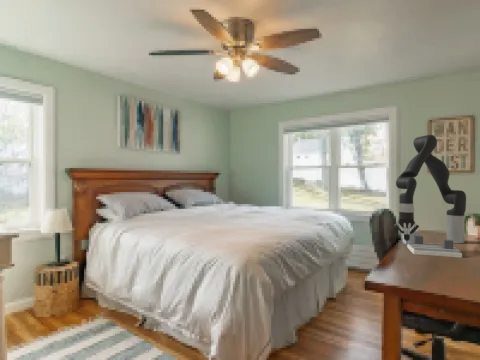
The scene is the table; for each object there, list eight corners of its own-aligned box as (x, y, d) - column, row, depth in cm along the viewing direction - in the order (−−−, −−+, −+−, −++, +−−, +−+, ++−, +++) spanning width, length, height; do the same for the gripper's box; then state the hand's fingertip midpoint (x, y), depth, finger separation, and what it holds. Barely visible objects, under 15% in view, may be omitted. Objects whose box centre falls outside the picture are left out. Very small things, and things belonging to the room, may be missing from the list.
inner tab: (414, 244, 168) (414, 235, 168) (421, 245, 167) (421, 235, 167) (415, 245, 166) (415, 236, 165) (423, 246, 164) (423, 236, 164)
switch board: (407, 247, 172) (407, 241, 172) (450, 250, 164) (450, 244, 164) (413, 254, 157) (413, 247, 157) (462, 257, 149) (461, 250, 149)
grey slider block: (442, 249, 157) (442, 239, 157) (451, 250, 155) (451, 239, 155) (444, 250, 154) (444, 240, 154) (453, 251, 153) (453, 240, 153)
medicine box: (415, 243, 182) (415, 229, 182) (419, 244, 178) (419, 230, 178) (402, 242, 183) (402, 229, 183) (405, 244, 179) (405, 230, 179)
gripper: (417, 210, 169) (418, 239, 170) (392, 210, 174) (392, 238, 174) (421, 212, 162) (421, 242, 163) (394, 211, 167) (395, 241, 167)
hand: (406, 240), depth 168 cm, fingers closed
